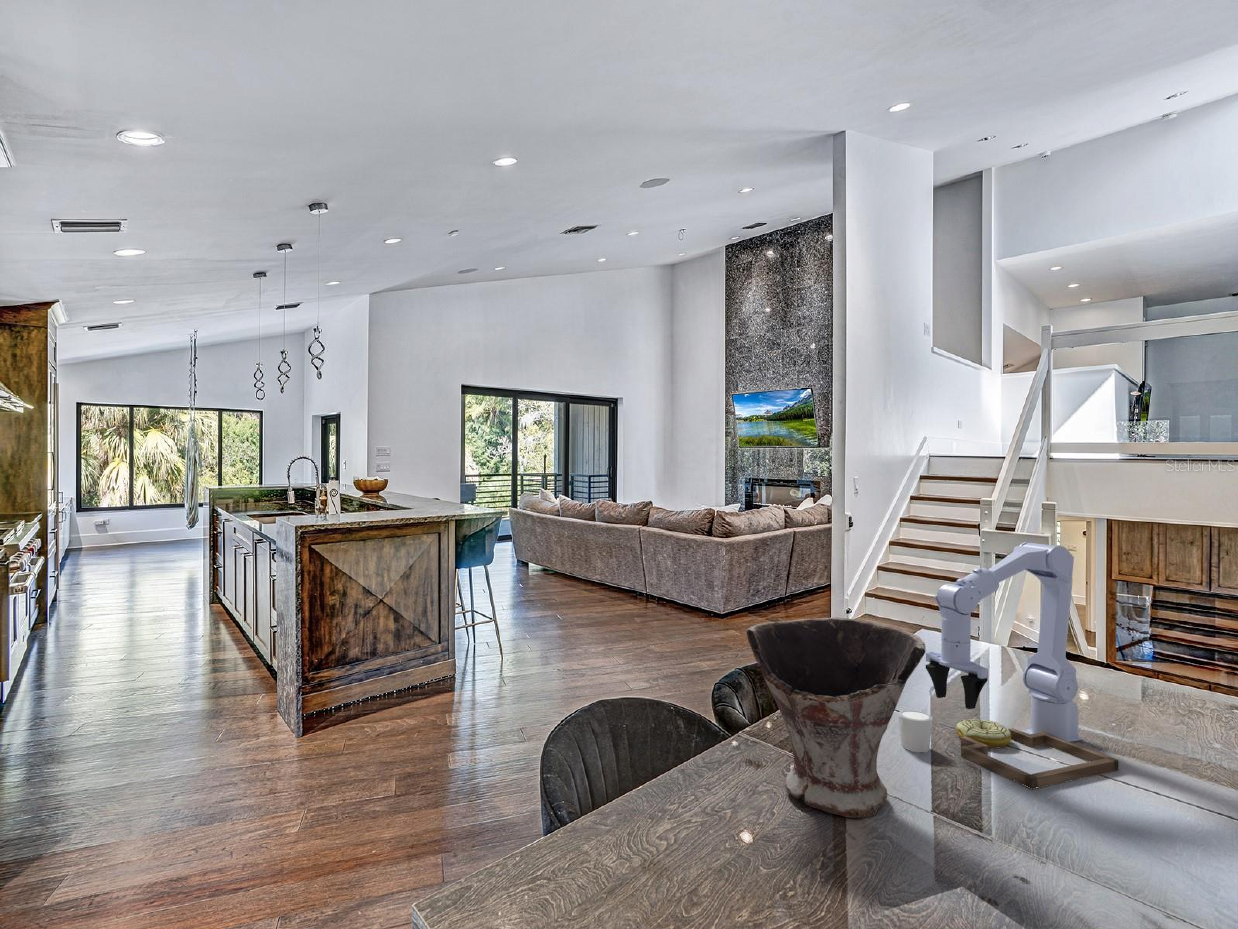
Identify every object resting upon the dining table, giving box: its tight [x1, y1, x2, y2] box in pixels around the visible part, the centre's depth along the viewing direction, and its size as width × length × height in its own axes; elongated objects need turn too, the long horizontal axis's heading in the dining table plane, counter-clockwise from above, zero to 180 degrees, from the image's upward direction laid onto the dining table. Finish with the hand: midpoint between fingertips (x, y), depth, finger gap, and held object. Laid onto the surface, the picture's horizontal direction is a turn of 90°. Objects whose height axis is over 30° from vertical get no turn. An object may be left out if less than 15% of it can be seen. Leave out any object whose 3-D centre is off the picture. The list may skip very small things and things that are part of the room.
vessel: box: [746, 617, 927, 819], centre depth 125 cm, size 30×27×30 cm
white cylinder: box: [898, 709, 934, 754], centre depth 147 cm, size 7×7×7 cm
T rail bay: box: [960, 727, 1120, 790], centre depth 142 cm, size 20×25×2 cm
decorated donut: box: [956, 718, 1012, 749], centre depth 152 cm, size 10×11×4 cm
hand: (955, 702), depth 148 cm, fingers open, 7 cm apart
